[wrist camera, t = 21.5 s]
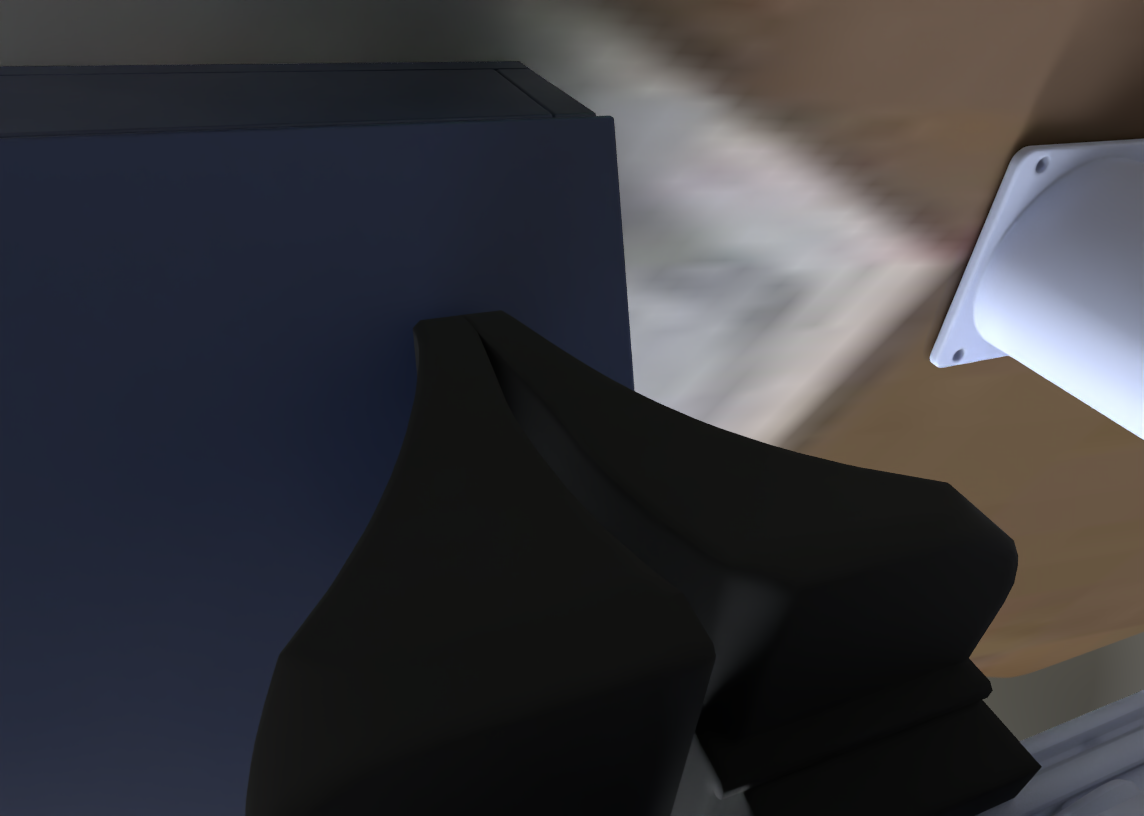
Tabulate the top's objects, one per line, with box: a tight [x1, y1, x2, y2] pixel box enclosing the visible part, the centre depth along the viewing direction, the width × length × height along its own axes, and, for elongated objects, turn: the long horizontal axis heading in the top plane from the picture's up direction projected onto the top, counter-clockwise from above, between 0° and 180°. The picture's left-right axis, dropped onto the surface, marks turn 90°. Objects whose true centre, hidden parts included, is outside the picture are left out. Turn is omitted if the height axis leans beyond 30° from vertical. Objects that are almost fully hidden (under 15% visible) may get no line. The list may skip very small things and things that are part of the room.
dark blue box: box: [0, 61, 596, 138], centre depth 14 cm, size 10×14×5 cm
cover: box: [0, 116, 634, 816], centre depth 11 cm, size 11×14×1 cm
